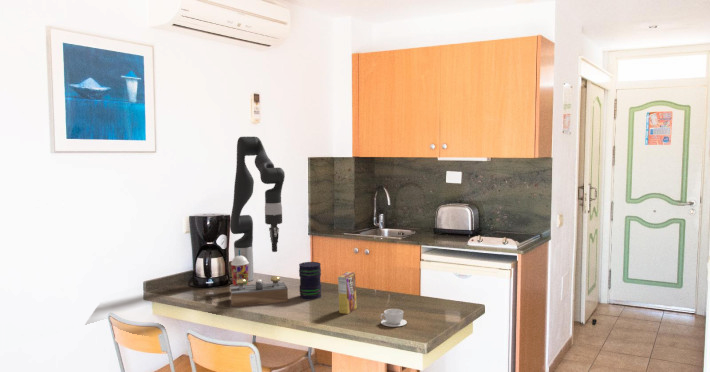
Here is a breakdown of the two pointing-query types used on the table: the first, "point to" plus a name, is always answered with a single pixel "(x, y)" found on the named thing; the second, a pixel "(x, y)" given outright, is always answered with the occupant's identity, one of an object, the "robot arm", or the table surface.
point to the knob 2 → (275, 280)
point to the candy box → (347, 292)
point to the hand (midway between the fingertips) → (274, 251)
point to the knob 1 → (241, 283)
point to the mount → (259, 294)
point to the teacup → (393, 318)
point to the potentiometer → (259, 285)
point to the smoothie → (240, 269)
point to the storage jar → (310, 280)
